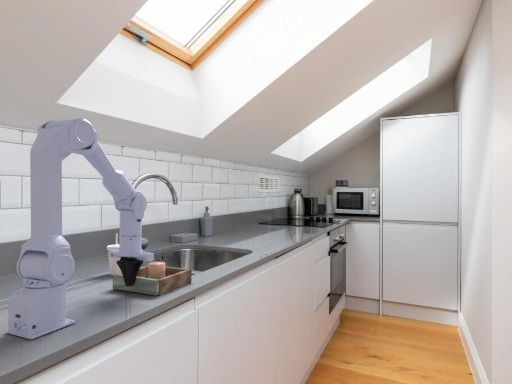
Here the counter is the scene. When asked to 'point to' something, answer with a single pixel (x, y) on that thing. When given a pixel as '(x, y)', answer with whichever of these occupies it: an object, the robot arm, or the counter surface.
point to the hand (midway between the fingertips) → (129, 285)
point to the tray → (138, 284)
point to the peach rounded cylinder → (156, 270)
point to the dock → (170, 278)
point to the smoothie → (114, 258)
